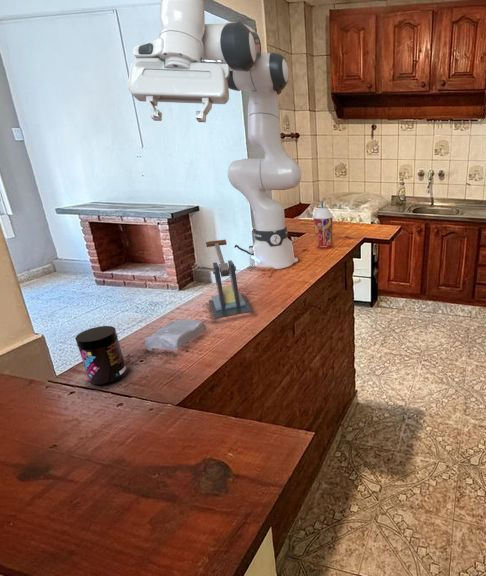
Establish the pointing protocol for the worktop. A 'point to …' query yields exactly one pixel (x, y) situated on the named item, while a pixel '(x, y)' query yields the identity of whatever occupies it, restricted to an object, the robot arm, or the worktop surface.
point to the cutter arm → (220, 256)
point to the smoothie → (323, 227)
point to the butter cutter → (224, 311)
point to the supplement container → (101, 355)
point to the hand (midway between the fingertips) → (178, 120)
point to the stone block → (174, 334)
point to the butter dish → (217, 304)
